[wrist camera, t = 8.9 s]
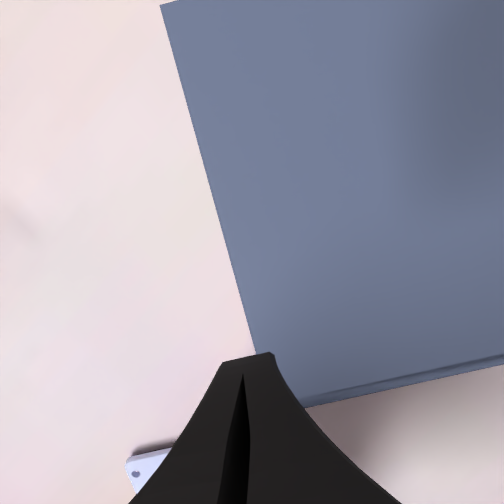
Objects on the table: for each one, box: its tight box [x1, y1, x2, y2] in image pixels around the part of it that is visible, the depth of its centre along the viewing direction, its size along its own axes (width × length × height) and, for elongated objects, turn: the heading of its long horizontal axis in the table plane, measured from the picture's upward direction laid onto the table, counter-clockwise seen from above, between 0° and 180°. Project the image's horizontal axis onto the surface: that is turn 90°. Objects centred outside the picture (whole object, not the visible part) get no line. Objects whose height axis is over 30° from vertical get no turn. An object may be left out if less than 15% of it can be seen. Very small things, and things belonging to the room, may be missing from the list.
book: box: [160, 0, 504, 408], centre depth 18 cm, size 18×13×3 cm
